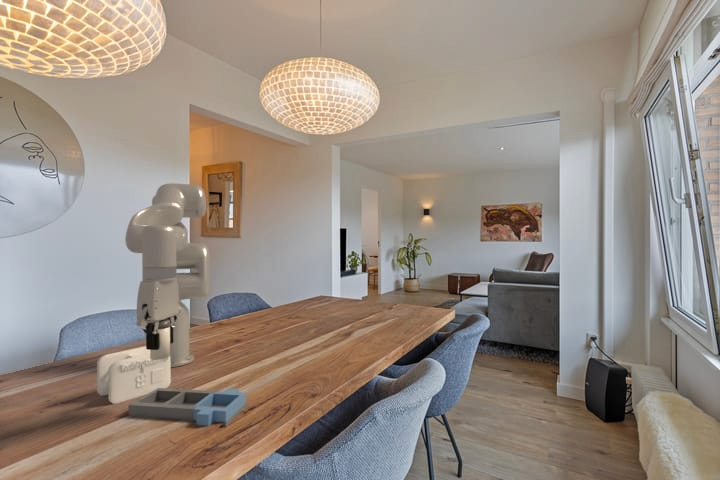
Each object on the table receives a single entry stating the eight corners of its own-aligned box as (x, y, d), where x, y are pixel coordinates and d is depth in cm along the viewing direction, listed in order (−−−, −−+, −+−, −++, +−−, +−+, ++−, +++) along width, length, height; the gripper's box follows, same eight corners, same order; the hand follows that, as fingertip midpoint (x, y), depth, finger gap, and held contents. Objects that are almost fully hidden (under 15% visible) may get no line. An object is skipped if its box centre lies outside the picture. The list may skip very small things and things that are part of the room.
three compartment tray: (121, 423, 83) (121, 408, 83) (163, 397, 97) (163, 384, 97) (221, 431, 79) (221, 415, 79) (249, 403, 93) (249, 389, 93)
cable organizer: (155, 381, 108) (155, 343, 108) (171, 390, 102) (171, 349, 102) (96, 399, 96) (96, 356, 96) (110, 410, 90) (110, 364, 90)
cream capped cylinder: (145, 359, 88) (145, 323, 88) (158, 353, 92) (158, 318, 92) (162, 360, 87) (161, 323, 87) (174, 354, 91) (174, 319, 91)
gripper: (169, 270, 98) (169, 336, 98) (119, 277, 82) (119, 356, 82) (193, 271, 97) (194, 337, 97) (148, 278, 80) (149, 358, 81)
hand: (160, 345), depth 89 cm, fingers closed on cream capped cylinder, 4 cm apart
